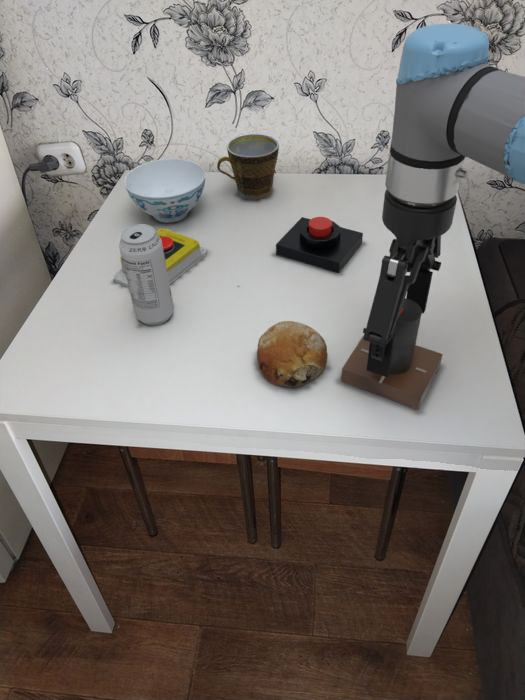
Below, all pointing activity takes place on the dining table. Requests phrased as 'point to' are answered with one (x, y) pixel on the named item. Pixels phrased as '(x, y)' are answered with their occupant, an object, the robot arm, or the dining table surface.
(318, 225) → the button
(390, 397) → the dial panel
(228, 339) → the dining table surface
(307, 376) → the bread roll
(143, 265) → the energy drink can
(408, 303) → the dial
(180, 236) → the emergency button
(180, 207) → the chinaware
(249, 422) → the dining table surface
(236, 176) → the ceramic cup
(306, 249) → the button box
